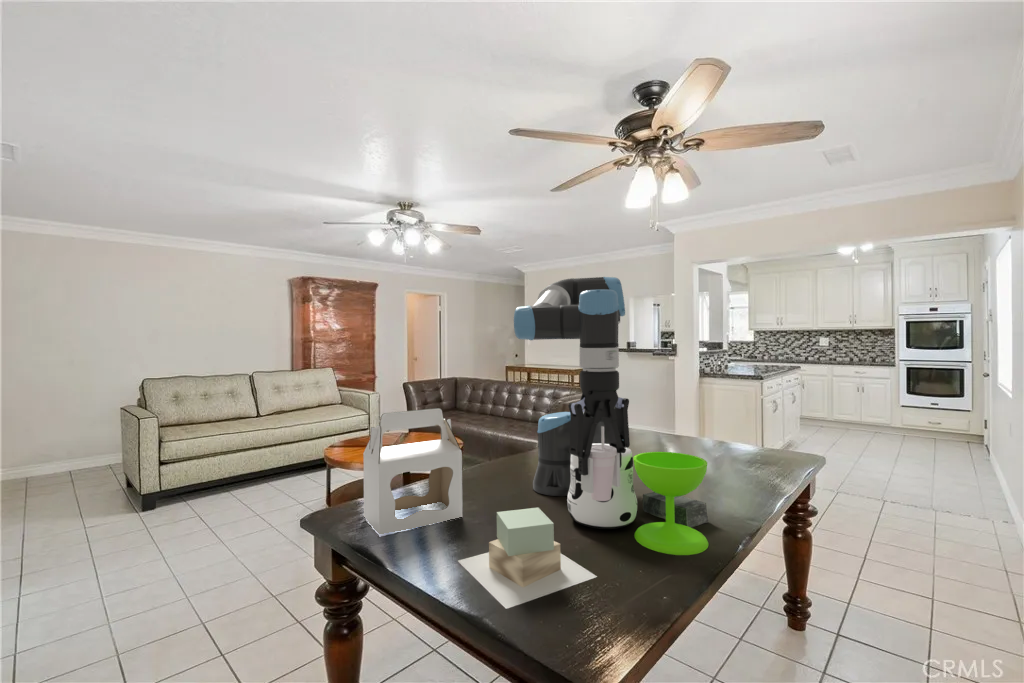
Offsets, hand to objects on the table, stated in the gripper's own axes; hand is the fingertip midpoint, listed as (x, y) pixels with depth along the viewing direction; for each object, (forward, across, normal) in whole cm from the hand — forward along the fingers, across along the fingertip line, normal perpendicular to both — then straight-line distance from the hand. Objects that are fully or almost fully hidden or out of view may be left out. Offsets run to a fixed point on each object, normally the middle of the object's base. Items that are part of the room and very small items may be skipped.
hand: (600, 487), depth 88 cm
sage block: (+11, -12, +8) cm, 19 cm away
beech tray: (+16, -12, +8) cm, 22 cm away
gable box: (+17, -23, +46) cm, 54 cm away
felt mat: (+17, -13, +8) cm, 22 cm away
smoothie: (+2, 0, 0) cm, 2 cm away
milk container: (+17, +17, +19) cm, 31 cm away
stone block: (+18, +36, +12) cm, 42 cm away
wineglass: (+17, +23, +3) cm, 29 cm away
